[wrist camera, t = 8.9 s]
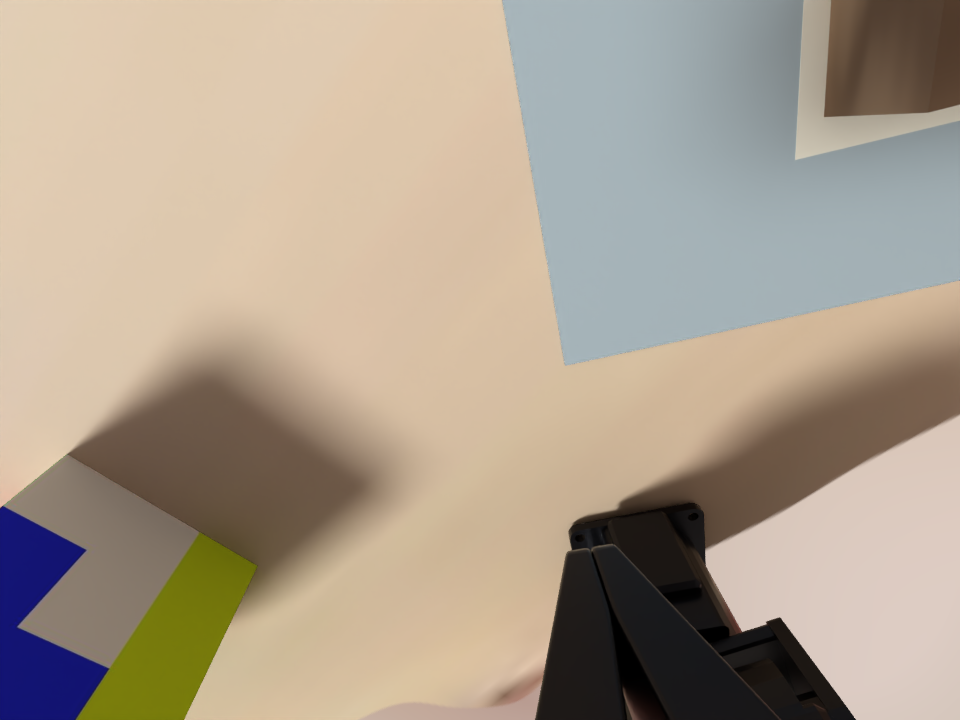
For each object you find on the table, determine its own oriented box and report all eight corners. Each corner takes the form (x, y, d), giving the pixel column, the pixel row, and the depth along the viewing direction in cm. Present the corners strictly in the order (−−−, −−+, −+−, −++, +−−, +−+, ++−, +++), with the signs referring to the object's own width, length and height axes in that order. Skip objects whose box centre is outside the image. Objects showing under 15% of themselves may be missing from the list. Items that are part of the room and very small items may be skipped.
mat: (1132, 241, 18) (1135, 242, 18) (564, 364, 20) (565, 366, 20) (1422, -555, 11) (1430, -561, 10) (459, -248, 12) (459, -251, 12)
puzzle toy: (68, 453, 21) (-225, 690, 12) (258, 564, 25) (137, 816, 16) (-26, 568, 24) (-319, 829, 15) (156, 654, 27) (4, 911, 18)
